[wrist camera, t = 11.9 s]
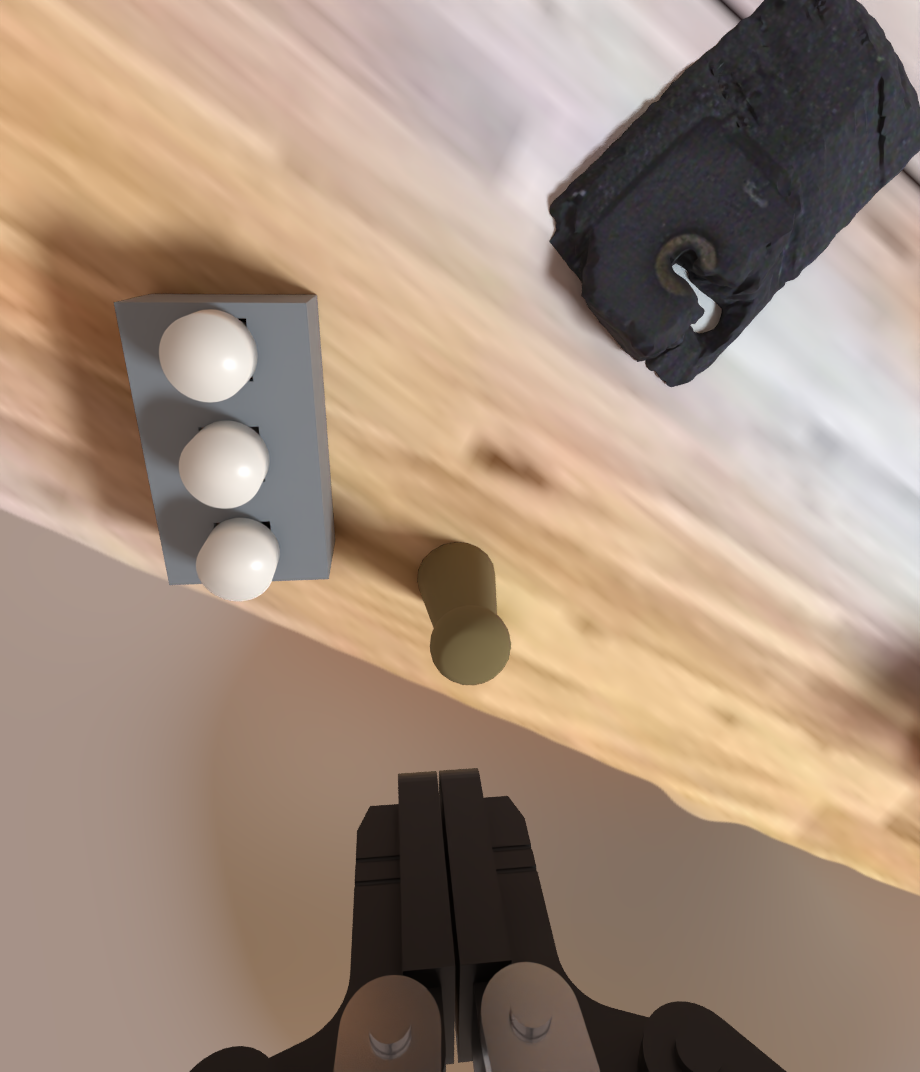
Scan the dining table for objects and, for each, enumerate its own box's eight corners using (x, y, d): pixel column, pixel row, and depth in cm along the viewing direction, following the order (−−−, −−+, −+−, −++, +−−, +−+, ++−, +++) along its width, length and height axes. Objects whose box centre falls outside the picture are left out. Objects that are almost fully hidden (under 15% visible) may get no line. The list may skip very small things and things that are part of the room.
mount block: (150, 293, 40) (113, 302, 34) (316, 294, 41) (306, 302, 35) (194, 545, 47) (169, 585, 41) (335, 540, 48) (328, 578, 42)
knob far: (223, 484, 45) (190, 535, 37) (289, 483, 45) (269, 533, 37) (232, 542, 46) (202, 602, 39) (295, 540, 47) (277, 599, 39)
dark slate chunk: (928, 166, 42) (990, 157, 37) (656, 402, 46) (684, 418, 42) (816, -68, 36) (874, -109, 32) (520, 228, 41) (535, 226, 37)
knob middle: (211, 397, 42) (172, 432, 34) (280, 397, 43) (257, 431, 35) (220, 462, 44) (185, 509, 36) (287, 461, 44) (266, 507, 37)
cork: (505, 595, 51) (534, 681, 41) (433, 621, 51) (445, 713, 42) (480, 530, 49) (504, 605, 39) (405, 559, 49) (409, 640, 39)
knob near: (196, 299, 40) (151, 314, 32) (270, 300, 40) (243, 314, 32) (207, 372, 41) (167, 402, 34) (278, 372, 42) (253, 401, 34)
